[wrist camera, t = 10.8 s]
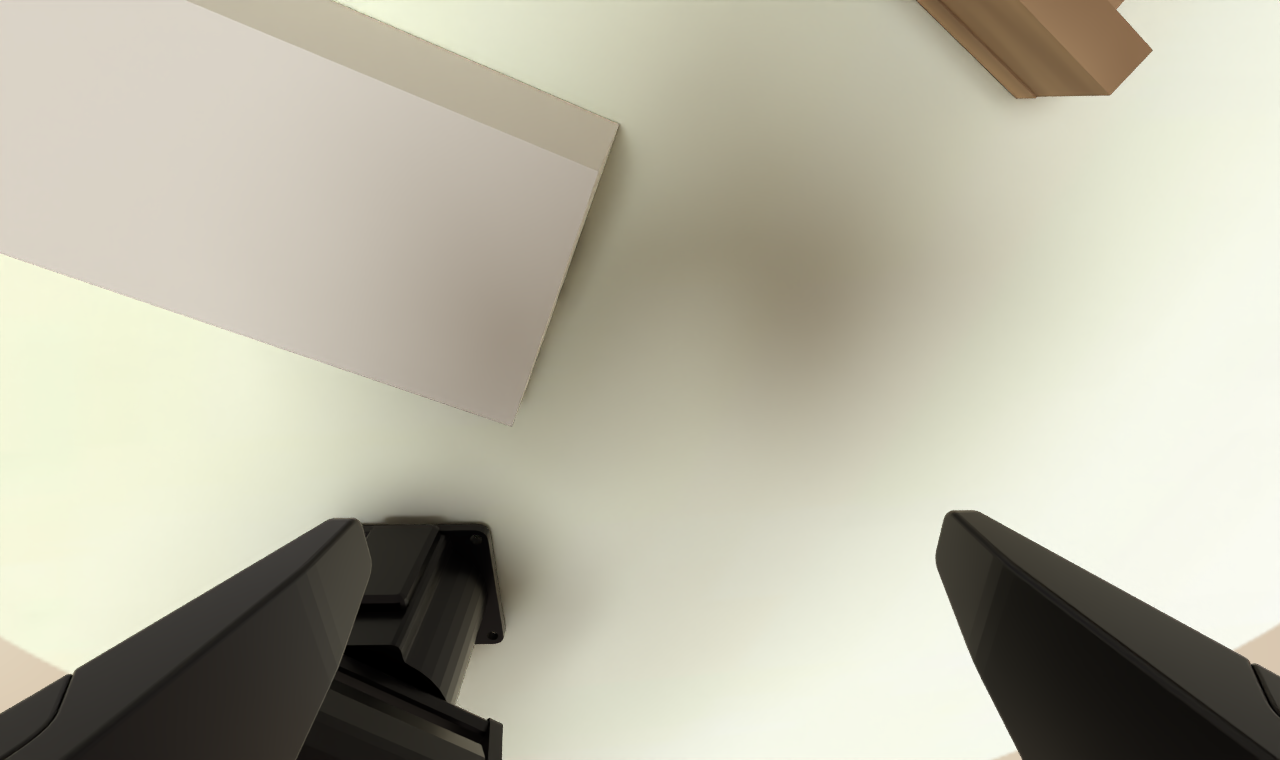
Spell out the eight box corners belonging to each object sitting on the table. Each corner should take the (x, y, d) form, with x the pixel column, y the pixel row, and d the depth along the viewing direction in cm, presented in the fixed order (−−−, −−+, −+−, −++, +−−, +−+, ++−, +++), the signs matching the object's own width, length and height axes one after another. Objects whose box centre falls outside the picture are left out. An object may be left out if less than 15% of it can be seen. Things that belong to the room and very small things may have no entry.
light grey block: (542, 347, 25) (622, 116, 19) (511, 426, 21) (598, 171, 15) (-429, -4, 20) (-755, -479, 14) (-689, 19, 16) (-1295, -615, 10)
